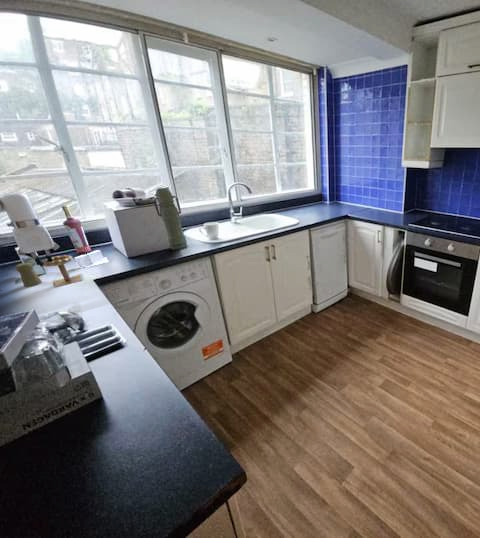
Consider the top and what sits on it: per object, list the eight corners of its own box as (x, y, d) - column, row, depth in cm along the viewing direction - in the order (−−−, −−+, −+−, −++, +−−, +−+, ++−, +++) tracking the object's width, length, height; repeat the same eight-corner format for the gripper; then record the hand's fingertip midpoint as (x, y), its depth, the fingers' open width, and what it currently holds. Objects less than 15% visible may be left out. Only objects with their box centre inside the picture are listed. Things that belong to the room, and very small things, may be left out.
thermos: (166, 247, 178) (148, 188, 164) (188, 243, 185) (172, 186, 171) (169, 251, 172) (151, 190, 158) (191, 246, 179) (175, 187, 165)
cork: (43, 281, 137) (32, 260, 132) (43, 285, 133) (32, 263, 128) (25, 286, 133) (13, 263, 129) (24, 290, 129) (11, 267, 125)
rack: (56, 289, 129) (44, 265, 125) (55, 283, 135) (44, 260, 130) (83, 282, 135) (72, 259, 130) (81, 277, 141) (71, 255, 136)
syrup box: (44, 271, 149) (31, 244, 144) (47, 273, 146) (33, 246, 140) (28, 275, 145) (14, 247, 139) (31, 277, 142) (16, 249, 136)
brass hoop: (43, 268, 124) (41, 264, 123) (42, 263, 130) (40, 259, 130) (74, 262, 131) (72, 258, 130) (72, 257, 137) (70, 253, 136)
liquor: (95, 251, 177) (76, 204, 166) (83, 255, 170) (62, 207, 159) (86, 250, 178) (67, 204, 167) (73, 254, 172) (52, 207, 161)
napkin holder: (106, 257, 166) (102, 247, 164) (109, 261, 159) (105, 251, 157) (70, 265, 156) (66, 255, 154) (72, 270, 149) (68, 260, 147)
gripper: (-4, 229, 113) (19, 272, 120) (53, 221, 124) (71, 261, 131) (-2, 226, 118) (20, 268, 125) (53, 218, 129) (70, 258, 136)
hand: (46, 264), depth 128 cm, fingers closed on brass hoop, 2 cm apart
